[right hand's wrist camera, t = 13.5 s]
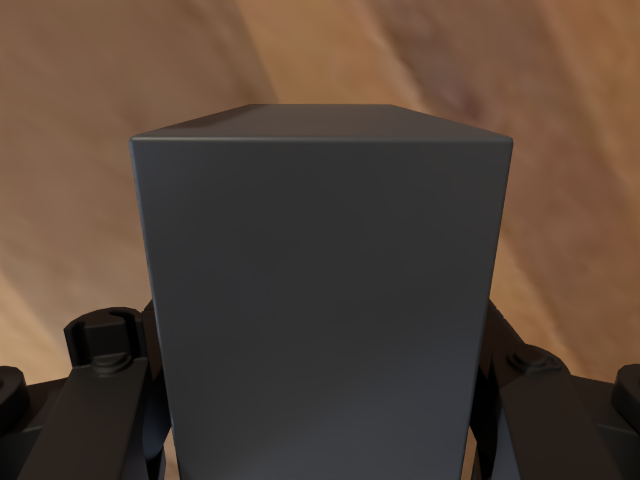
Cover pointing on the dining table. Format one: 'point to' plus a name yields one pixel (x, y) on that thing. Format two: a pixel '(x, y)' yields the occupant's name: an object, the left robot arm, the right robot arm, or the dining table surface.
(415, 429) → the beam
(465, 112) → the dining table surface
